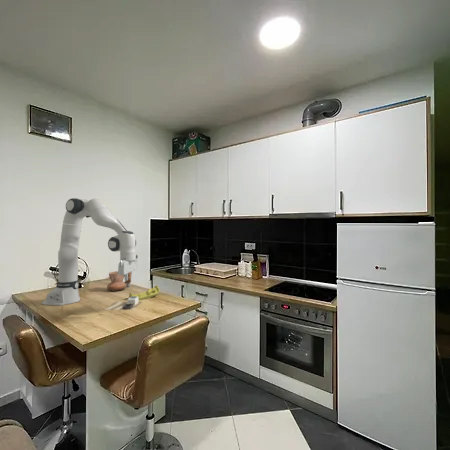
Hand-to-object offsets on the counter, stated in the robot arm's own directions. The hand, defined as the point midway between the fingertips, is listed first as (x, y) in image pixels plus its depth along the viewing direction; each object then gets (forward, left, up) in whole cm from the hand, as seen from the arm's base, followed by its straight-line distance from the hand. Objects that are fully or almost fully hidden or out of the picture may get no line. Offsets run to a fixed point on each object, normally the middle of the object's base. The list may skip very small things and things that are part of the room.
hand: (128, 279), depth 153 cm
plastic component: (+3, +23, -19) cm, 30 cm away
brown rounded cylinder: (0, 0, -5) cm, 5 cm away
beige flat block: (-4, +4, -19) cm, 19 cm away
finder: (0, +8, -17) cm, 19 cm away
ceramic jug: (-28, +47, -19) cm, 58 cm away
